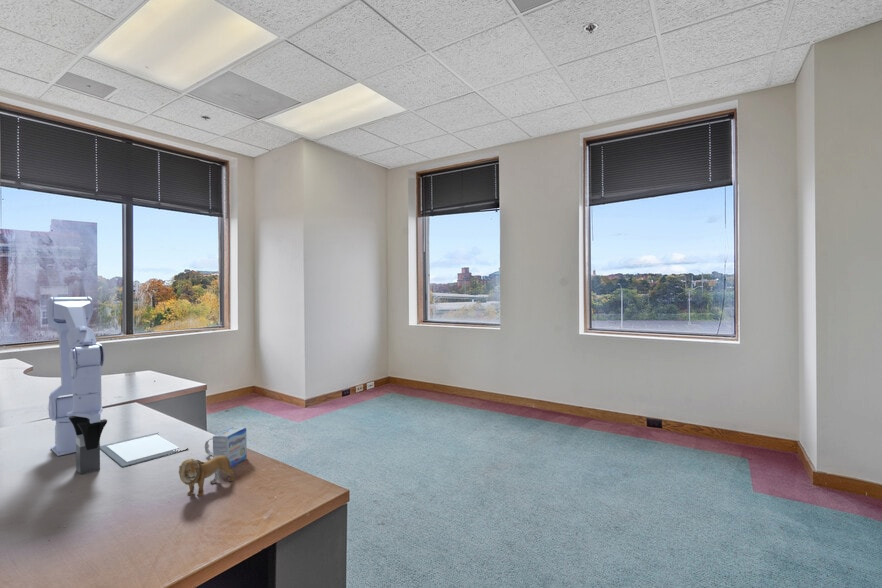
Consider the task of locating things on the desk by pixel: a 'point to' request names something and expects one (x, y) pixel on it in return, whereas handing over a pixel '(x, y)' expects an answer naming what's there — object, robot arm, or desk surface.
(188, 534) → the desk surface
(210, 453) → the wristwatch
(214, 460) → the lion figurine
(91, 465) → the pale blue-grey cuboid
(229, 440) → the medicine box
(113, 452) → the desk mat
